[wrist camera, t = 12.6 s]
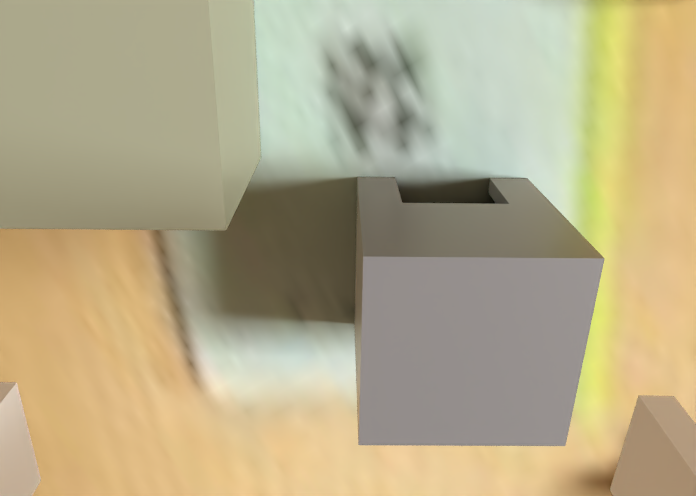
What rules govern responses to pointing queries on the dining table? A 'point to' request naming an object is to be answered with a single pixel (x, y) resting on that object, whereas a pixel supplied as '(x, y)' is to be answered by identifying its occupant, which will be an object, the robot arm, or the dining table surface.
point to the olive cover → (126, 113)
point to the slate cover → (469, 317)
